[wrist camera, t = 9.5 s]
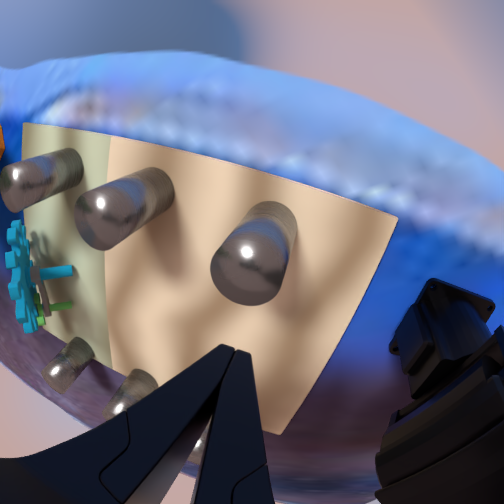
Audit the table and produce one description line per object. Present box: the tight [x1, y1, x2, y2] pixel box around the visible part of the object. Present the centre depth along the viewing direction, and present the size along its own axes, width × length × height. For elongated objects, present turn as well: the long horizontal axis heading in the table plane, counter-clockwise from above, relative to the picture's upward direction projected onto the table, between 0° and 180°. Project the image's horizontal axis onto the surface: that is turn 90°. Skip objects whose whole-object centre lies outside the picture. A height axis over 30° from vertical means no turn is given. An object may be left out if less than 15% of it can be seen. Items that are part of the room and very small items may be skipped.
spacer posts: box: [0, 148, 297, 465], centre depth 21 cm, size 19×23×6 cm
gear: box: [5, 220, 73, 333], centre depth 23 cm, size 11×6×10 cm
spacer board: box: [22, 122, 398, 435], centre depth 24 cm, size 30×24×1 cm
